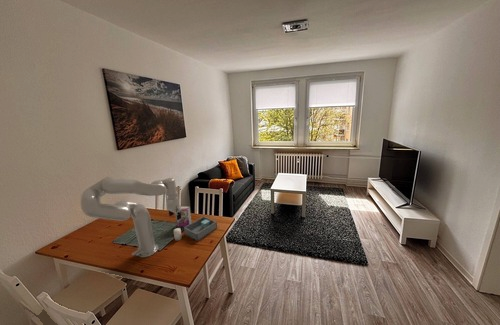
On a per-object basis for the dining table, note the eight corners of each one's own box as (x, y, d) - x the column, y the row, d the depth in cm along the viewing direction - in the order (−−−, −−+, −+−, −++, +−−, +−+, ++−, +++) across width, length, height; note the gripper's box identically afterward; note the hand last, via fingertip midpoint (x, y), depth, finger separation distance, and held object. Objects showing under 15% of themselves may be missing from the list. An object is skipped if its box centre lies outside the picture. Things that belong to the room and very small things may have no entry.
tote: (197, 241, 142) (196, 234, 141) (184, 234, 151) (183, 227, 150) (217, 228, 157) (216, 221, 156) (204, 222, 166) (203, 216, 165)
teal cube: (205, 229, 154) (205, 224, 153) (201, 227, 157) (200, 222, 156) (210, 226, 158) (209, 221, 157) (206, 224, 161) (205, 219, 160)
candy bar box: (176, 227, 162) (173, 209, 157) (179, 223, 166) (176, 206, 162) (189, 227, 160) (187, 209, 156) (192, 223, 165) (189, 206, 161)
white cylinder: (177, 241, 144) (175, 232, 142) (173, 238, 146) (172, 230, 145) (183, 237, 147) (181, 229, 146) (179, 235, 150) (178, 227, 149)
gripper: (160, 194, 140) (164, 216, 145) (173, 200, 130) (177, 223, 135) (169, 191, 146) (173, 211, 151) (183, 196, 136) (187, 218, 140)
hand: (175, 217), depth 143 cm, fingers open, 9 cm apart
